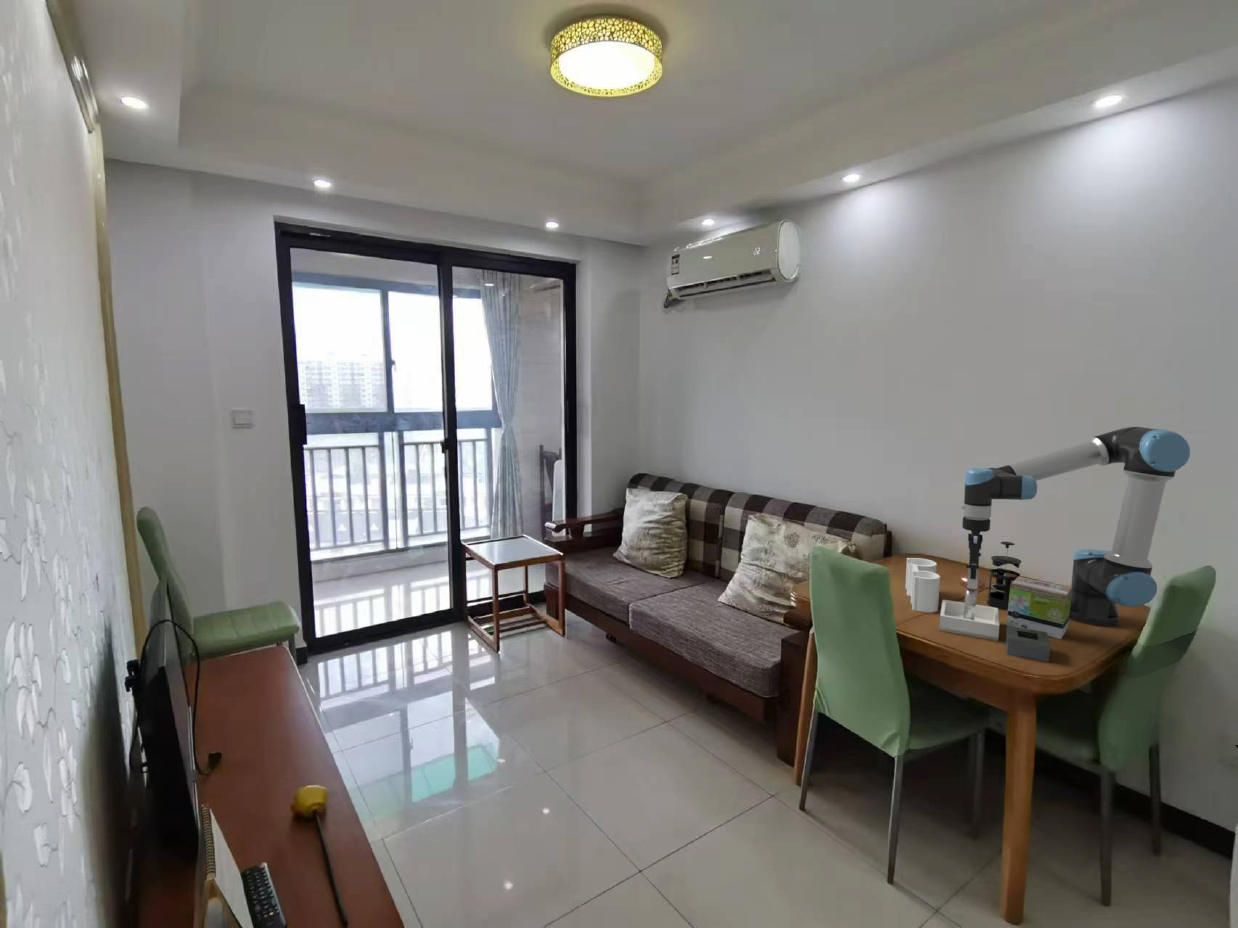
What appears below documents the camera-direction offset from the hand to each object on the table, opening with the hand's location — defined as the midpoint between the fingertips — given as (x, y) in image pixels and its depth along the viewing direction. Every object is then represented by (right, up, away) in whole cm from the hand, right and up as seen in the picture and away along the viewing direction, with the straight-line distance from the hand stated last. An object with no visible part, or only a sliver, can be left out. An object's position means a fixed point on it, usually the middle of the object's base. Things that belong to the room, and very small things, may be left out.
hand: (972, 581), depth 192 cm
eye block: (+7, -17, -16) cm, 24 cm away
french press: (+22, -12, +20) cm, 33 cm away
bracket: (-3, -12, +26) cm, 29 cm away
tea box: (+21, -15, 0) cm, 26 cm away
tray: (0, -15, +2) cm, 15 cm away
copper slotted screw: (0, -14, +2) cm, 14 cm away
